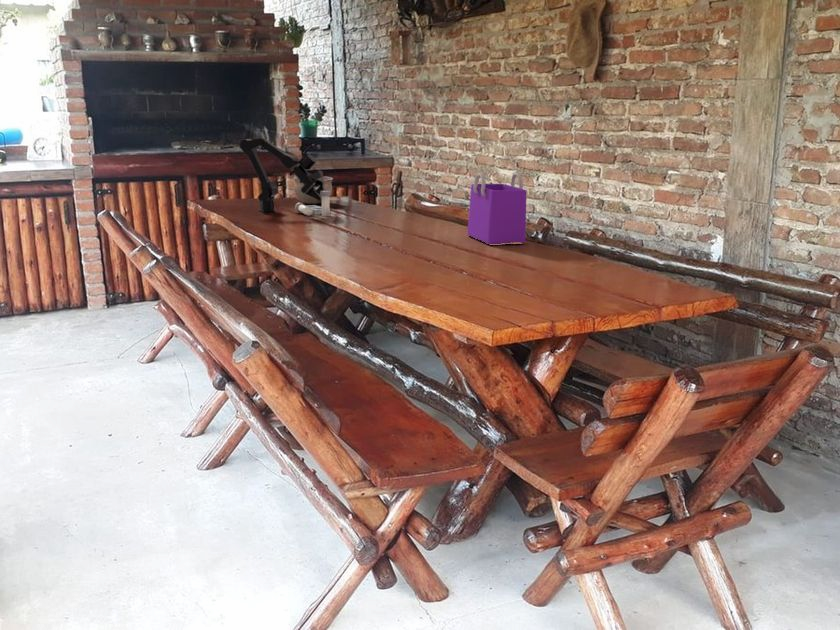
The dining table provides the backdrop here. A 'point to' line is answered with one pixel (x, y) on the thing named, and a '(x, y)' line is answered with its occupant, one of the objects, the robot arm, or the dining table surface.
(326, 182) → the ceramic bowl
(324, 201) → the translucent upright cylinder
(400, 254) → the dining table surface
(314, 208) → the housing
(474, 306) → the dining table surface
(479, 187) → the shopping bag
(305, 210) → the white plastic cylinder
